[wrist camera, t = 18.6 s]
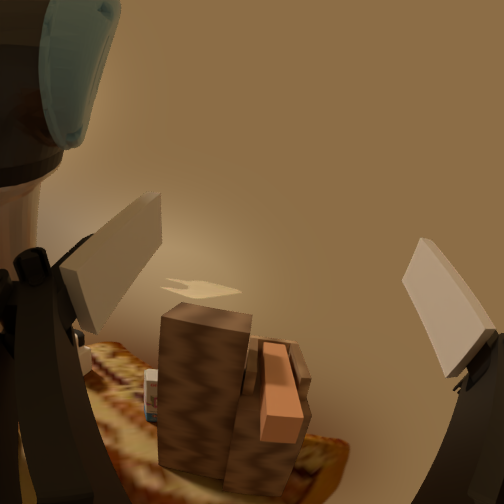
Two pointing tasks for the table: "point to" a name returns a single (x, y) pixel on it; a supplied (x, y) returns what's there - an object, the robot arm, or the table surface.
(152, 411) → the ink box
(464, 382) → the robot arm
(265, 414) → the block
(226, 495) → the table surface
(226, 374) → the brown stepped wooden block
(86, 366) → the medicine bottle
